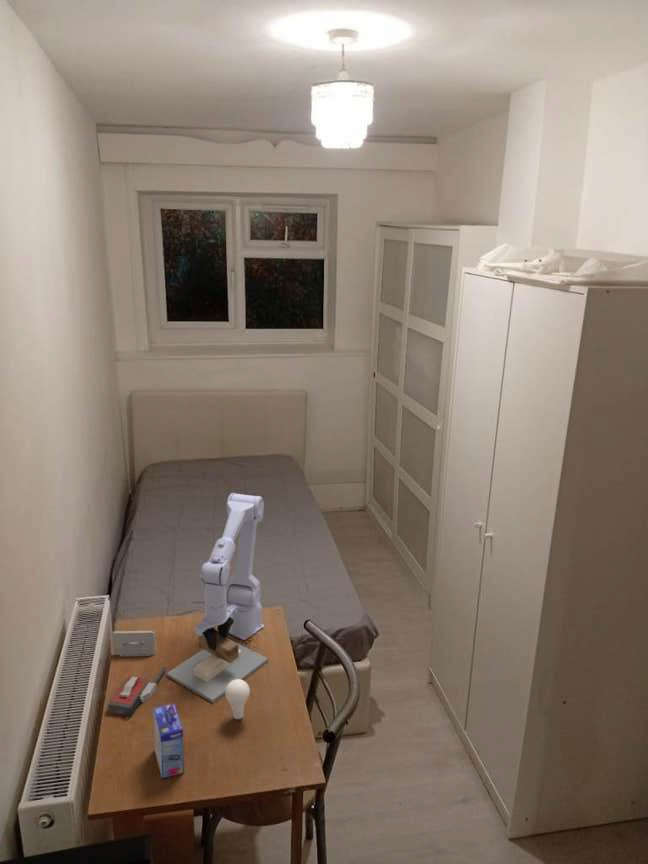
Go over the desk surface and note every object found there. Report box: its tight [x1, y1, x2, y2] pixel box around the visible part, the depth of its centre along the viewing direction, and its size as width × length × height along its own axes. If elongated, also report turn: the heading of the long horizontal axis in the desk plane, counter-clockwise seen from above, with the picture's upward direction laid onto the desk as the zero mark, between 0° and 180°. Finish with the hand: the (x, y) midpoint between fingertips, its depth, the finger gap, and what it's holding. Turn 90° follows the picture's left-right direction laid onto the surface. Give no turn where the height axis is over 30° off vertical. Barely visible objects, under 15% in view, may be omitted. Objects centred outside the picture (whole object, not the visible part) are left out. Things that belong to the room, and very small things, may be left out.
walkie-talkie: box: [107, 666, 167, 718], centre depth 176 cm, size 9×4×20 cm
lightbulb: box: [224, 679, 251, 720], centre depth 167 cm, size 6×6×11 cm
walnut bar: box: [198, 634, 239, 663], centre depth 184 cm, size 12×4×4 cm, turn 54°
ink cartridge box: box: [152, 703, 185, 779], centre depth 152 cm, size 10×6×14 cm, turn 24°
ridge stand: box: [166, 637, 269, 704], centre depth 186 cm, size 22×18×4 cm
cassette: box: [111, 630, 157, 657], centre depth 191 cm, size 12×2×8 cm, turn 93°
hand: (217, 645), depth 184 cm, fingers closed on walnut bar, 3 cm apart
